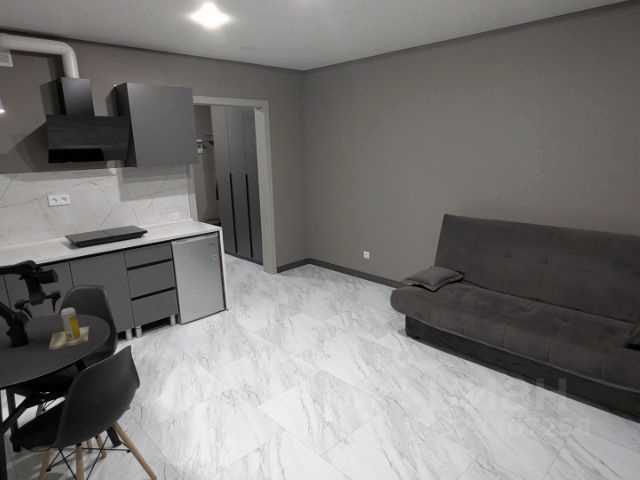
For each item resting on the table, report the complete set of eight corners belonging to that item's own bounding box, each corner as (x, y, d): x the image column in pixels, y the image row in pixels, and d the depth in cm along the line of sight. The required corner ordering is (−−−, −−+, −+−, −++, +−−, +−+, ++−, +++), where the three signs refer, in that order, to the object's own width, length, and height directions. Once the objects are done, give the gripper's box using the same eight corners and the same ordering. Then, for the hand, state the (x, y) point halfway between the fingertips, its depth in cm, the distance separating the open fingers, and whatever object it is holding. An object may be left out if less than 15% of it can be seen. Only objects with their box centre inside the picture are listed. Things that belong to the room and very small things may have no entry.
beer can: (82, 334, 203) (76, 306, 199) (78, 339, 197) (72, 311, 193) (69, 335, 202) (62, 308, 198) (64, 341, 196) (58, 313, 192)
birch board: (49, 350, 191) (48, 347, 191) (53, 336, 205) (53, 333, 205) (88, 341, 198) (87, 339, 198) (89, 328, 212) (89, 325, 212)
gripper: (8, 297, 184) (18, 327, 188) (55, 285, 192) (64, 315, 197) (11, 289, 193) (21, 319, 197) (56, 279, 202) (65, 307, 206)
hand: (43, 315), depth 199 cm, fingers open, 9 cm apart
